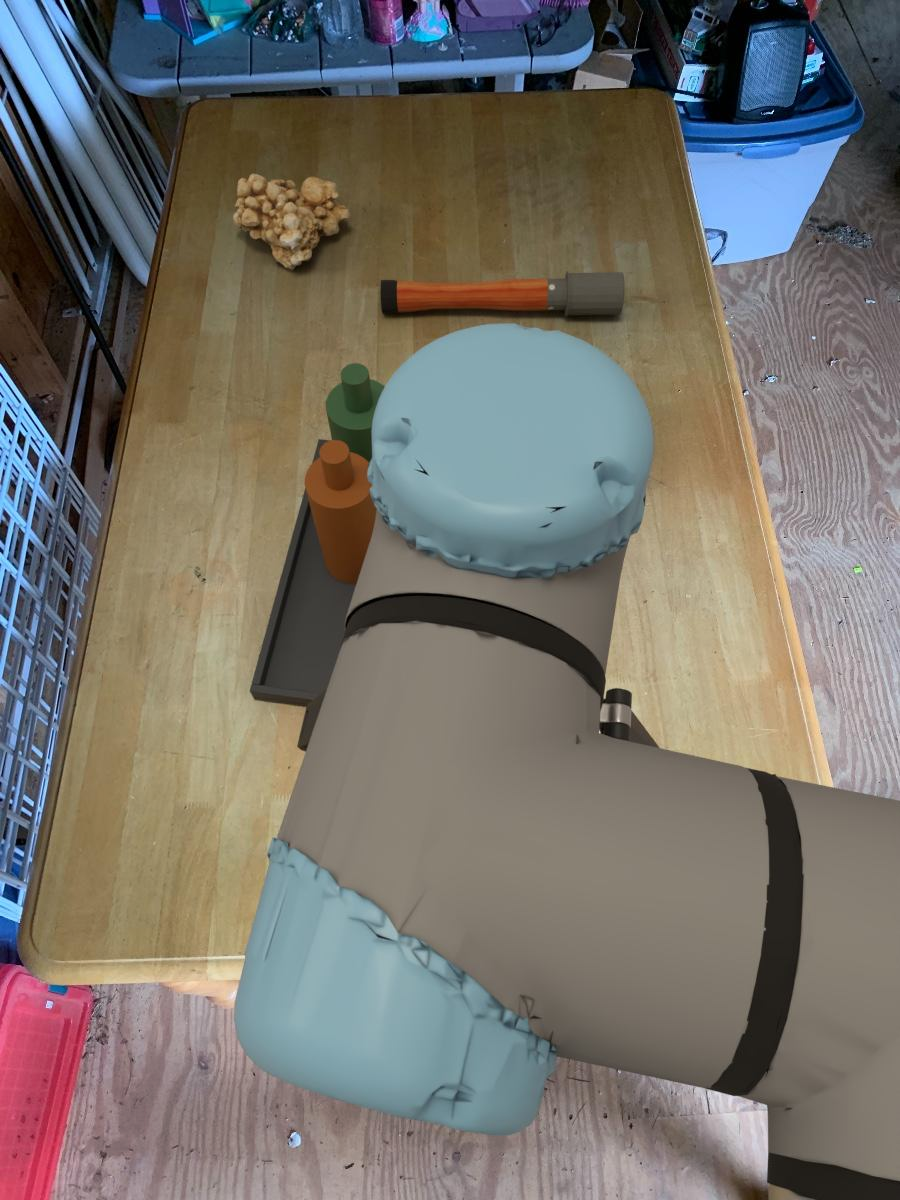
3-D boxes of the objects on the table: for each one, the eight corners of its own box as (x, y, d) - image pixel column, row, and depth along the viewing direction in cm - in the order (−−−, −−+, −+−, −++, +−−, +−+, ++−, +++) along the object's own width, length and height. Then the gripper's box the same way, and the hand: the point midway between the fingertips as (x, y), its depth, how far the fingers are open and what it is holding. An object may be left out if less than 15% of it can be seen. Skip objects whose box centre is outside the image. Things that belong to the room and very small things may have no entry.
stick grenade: (379, 306, 101) (627, 303, 100) (380, 265, 102) (626, 261, 101) (384, 326, 107) (619, 323, 106) (384, 287, 107) (618, 284, 106)
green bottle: (394, 515, 90) (382, 404, 74) (336, 508, 91) (312, 396, 75) (404, 468, 93) (395, 351, 77) (348, 462, 94) (327, 344, 78)
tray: (391, 718, 80) (389, 710, 78) (254, 699, 81) (249, 691, 79) (438, 465, 95) (438, 452, 93) (321, 451, 96) (318, 438, 93)
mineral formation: (301, 285, 108) (208, 239, 111) (358, 240, 115) (270, 197, 118) (300, 228, 101) (201, 180, 104) (361, 184, 109) (267, 140, 111)
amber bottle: (379, 587, 86) (363, 485, 70) (319, 580, 87) (289, 477, 71) (390, 536, 89) (377, 426, 73) (331, 528, 90) (306, 418, 74)
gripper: (793, 611, 35) (674, 758, 54) (221, 539, 37) (298, 706, 56) (802, 784, 32) (671, 877, 51) (171, 697, 34) (271, 818, 52)
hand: (476, 788), depth 53 cm, fingers open, 13 cm apart
